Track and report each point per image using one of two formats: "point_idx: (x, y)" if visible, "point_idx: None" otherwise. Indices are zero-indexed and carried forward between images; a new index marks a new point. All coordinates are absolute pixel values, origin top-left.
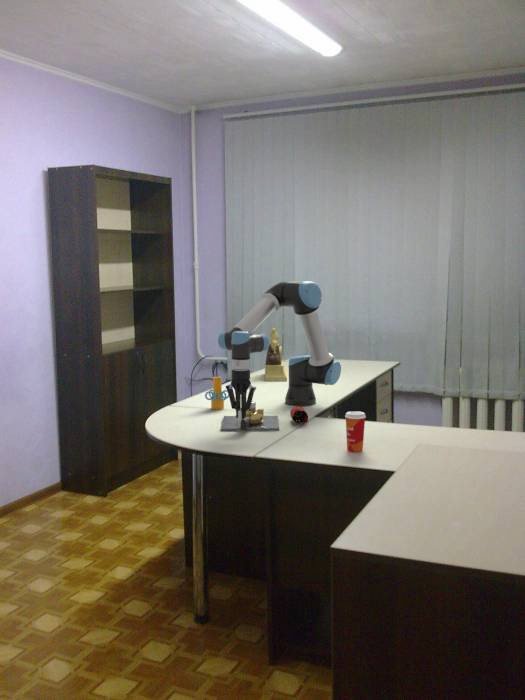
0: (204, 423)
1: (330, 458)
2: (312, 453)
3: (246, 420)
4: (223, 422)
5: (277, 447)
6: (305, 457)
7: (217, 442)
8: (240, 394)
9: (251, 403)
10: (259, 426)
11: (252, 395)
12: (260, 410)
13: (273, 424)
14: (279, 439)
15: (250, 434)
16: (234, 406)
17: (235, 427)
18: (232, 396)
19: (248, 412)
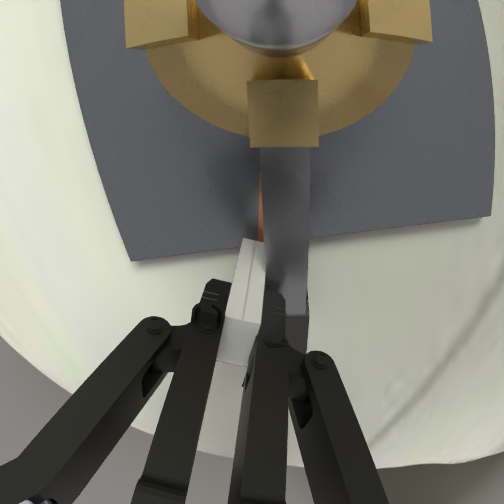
0: (2, 102)
1: (496, 440)
2: (481, 432)
3: (298, 329)
4: (83, 95)
5: (416, 424)
6: (454, 452)
7: None
8: (189, 477)
9: (310, 40)
10: (375, 171)
11: (373, 501)
12: (404, 36)
13: (464, 106)
14: (449, 357)
15: (324, 305)
16: (165, 371)
17: (205, 221)
18: (105, 446)
19: (284, 146)
